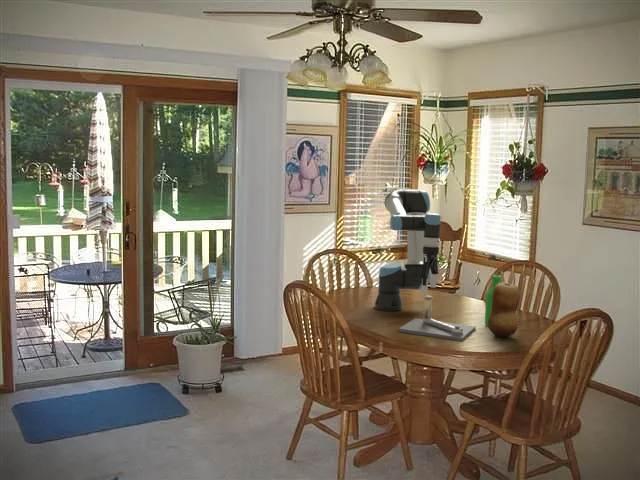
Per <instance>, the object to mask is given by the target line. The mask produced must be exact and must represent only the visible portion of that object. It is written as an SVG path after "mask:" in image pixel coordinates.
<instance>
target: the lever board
mask: <svg viewBox="0 0 640 480" xmlns="http://www.w3.org/2000/svg"><path fill="white" fill-rule="evenodd" d="M442 322H443V323H446V324H448V325H451V326H454V327H455V326H460V328H462V329H463V334H453V333H451V331H448V330H445V329H442V328H439V327H437V326H434V325H431V324H428V323H426V322H423V318H414V319H412V320H411V321H409V322H407V323H406V324H404V325H401V327H398V332H399V333H406V334H411V335H412V334H413V335H418V336H425V337H432V338H440V339H445V340H452V341H458V342H463V341H464V340H465V339H467V338H468V337H469V336H471V334H473V332H474V331H476V326H475V325H474V326H473V325H466V324H460V323H459V324H458V323H452V322H445V321H442Z"/></svg>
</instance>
